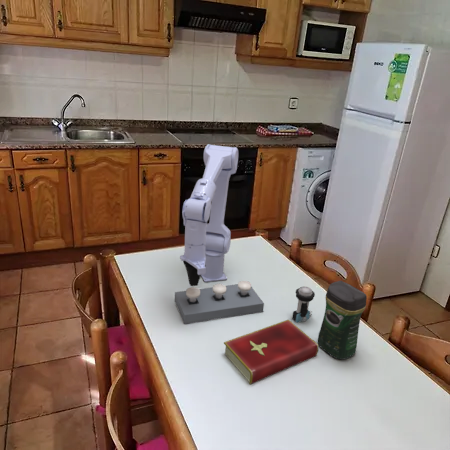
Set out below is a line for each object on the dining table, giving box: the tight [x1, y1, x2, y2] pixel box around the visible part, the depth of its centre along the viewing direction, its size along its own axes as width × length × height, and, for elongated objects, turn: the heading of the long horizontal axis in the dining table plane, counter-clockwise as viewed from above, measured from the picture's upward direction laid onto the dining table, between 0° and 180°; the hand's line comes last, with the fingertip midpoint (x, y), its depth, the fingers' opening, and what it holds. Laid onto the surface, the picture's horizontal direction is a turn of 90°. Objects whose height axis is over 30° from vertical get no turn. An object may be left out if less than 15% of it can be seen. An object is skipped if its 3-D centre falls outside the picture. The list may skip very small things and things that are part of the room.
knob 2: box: [237, 280, 252, 295], centre depth 122 cm, size 4×4×3 cm
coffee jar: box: [317, 280, 368, 360], centre depth 104 cm, size 10×8×19 cm
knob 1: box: [185, 286, 201, 302], centre depth 117 cm, size 4×4×3 cm
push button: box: [291, 286, 316, 324], centre depth 117 cm, size 7×5×10 cm
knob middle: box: [212, 283, 227, 299], centre depth 120 cm, size 4×4×3 cm
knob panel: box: [174, 283, 265, 325], centre depth 121 cm, size 12×24×3 cm, turn 110°
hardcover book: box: [223, 319, 319, 385], centre depth 103 cm, size 12×21×4 cm, turn 122°
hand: (193, 284), depth 116 cm, fingers closed
